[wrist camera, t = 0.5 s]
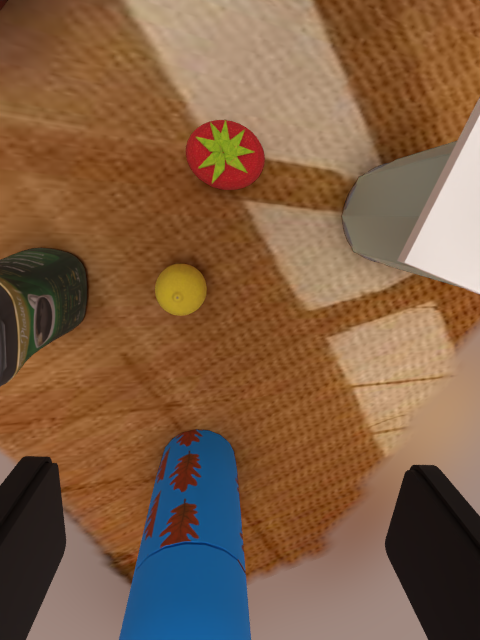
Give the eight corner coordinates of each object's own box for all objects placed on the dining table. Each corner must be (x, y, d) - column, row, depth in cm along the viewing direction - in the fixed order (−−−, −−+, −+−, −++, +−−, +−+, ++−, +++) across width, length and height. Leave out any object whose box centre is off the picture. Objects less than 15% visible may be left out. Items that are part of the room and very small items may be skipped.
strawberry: (252, 199, 38) (264, 194, 29) (186, 185, 37) (175, 175, 28) (263, 142, 37) (279, 117, 27) (194, 126, 36) (186, 94, 26)
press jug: (469, 193, 40) (651, 178, 23) (422, 281, 42) (553, 324, 26) (369, 146, 37) (491, 91, 21) (326, 242, 40) (404, 262, 24)
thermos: (237, 487, 50) (256, 733, 26) (165, 493, 50) (118, 750, 26) (234, 425, 47) (252, 641, 23) (157, 431, 46) (94, 658, 23)
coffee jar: (18, 242, 38) (-155, 266, 20) (90, 253, 39) (-15, 285, 21) (21, 323, 41) (-130, 406, 23) (88, 331, 42) (-6, 417, 24)
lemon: (216, 277, 41) (216, 291, 33) (190, 313, 42) (184, 335, 34) (178, 249, 39) (168, 258, 32) (152, 287, 40) (137, 304, 33)
